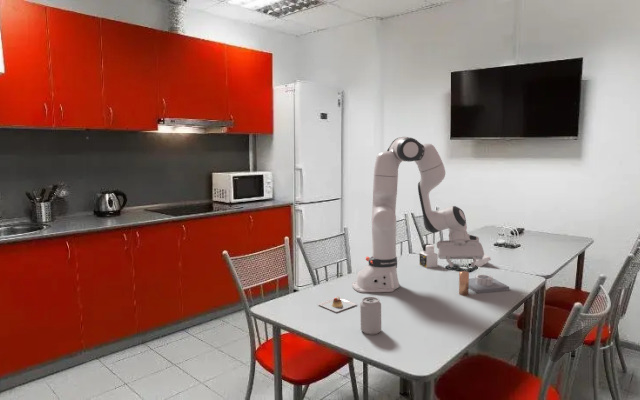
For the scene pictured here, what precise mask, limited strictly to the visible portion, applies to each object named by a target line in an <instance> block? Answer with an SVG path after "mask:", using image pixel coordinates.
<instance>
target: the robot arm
mask: <svg viewBox="0 0 640 400" xmlns="http://www.w3.org/2000/svg"><path fill="white" fill-rule="evenodd" d="M402 162H408V163H409V162H414V163H415V165H417V168H418V171H419V173H420V180H419V181H418V184H417V190H418V191H417V192H418V197H419V202H420V203H419V204H420V208H421V211H422V212H421V213H422V218H423V219H422V221H423V225H424V226H423V227H424V228H425V230H426V231H428V232H430V233H432V234H435V233H438V232H441V231H445V230H447V231H448V240H439V241H437V242H436V248H437V249H438V251H437V254H438V258H439V260H446V262H447V263H448V264H449V265H448V267H450V268H454V262H453V261H451V260H461V259H473V262H471V265H470V267H471V268H476V266H475V262H476V259H482V258H483V257H484V254H485V251H484V248H483V245H482V243H481V242H480V237H479V236H476V235H473V234H470V233H468V231H467V228H468V227H467V219H466V215H465V213H464V211H463V209H461V208H460V207H458V206H456V205H452V206H448V207H444V208H441V209H438V210H432V204H431V200H430V196H429V195H430V192H431V191H432V190H433V189H435V188H436V187H438V185H440V184H441V183H442V182H443V180H444V179H445V177H446V169H445V165H444V163H443V160H442V158H441V156H440V154H439V152H438V150H437V149H436V147H435V145H433V144H432V143H423V144H422V143H421V142H420V141H418V140H417V139H416V138H413V137H409V136H402V137H397V138H395V139H394V140H393V141H392V142H391V143H390V145H389V147H388V149H387V150H384V151H381V152H380V153H377V156H376V159H375V163H374V168H373V185H372V187H373V188H372V209H371V210H372V211H371V237H372V238H371V239H372V240H371V241H372V247H371V249H372V254H371V255H372V256H371V257H369V256H366V257H365V260H366V262H368V264H367V265H366V266H365V267H363V269H361V270H359V272H358V273H357V276H356V281H355V280H354V281H353V282H352V283H351V284H352V286H351V287H352V288H353V289H354V290H355V291H356V292H358V293H391V292H392V293H393V292H394V291H395V290H396V289H398V288H399V287H400V286H401V285H400V282H399V278H398V271H397V268H398V257H397V214H396V209H397V207H396V206H397V195H398V181H399V178H398V177H399V167H400V165H401V163H402Z"/></svg>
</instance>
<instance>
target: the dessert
mask: <svg viewBox="0 0 640 400" xmlns="http://www.w3.org/2000/svg"><path fill="white" fill-rule="evenodd" d="M330 303H332V305H331V306H332V307H333V308H337V307H338V308H342V307H343V305H344V304H343V303H346V304H347V305H350V306H348V307H345V308H342V309H339V310H334V309H331V308H329V307H327V306H325V305H327V304H330ZM317 305H318V306H321V307H323V308H324V309H328V310H330V311H332V312H335V313H338V312H342V311H345V310H347V309H349V308H352V307H355V306H357V305H358V304H357V303H354V302H352V301H350V300H348V299H345V298H343V297H340V296H339V295H337V297H334V298H331V299H329V300H325V301H323V302H320V303H317Z"/></svg>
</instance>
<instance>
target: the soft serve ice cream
mask: <svg viewBox="0 0 640 400" xmlns="http://www.w3.org/2000/svg"><path fill="white" fill-rule="evenodd" d="M491 260H492V258H491V256H490V255H487V254H485V253H484V257H483V258H482V259H476V262H475V265H476V266H475V267H478V268H479V267H480V268H481V267H483V266H484V265H485V264H487V263H488V262H490V261H491Z"/></svg>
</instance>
